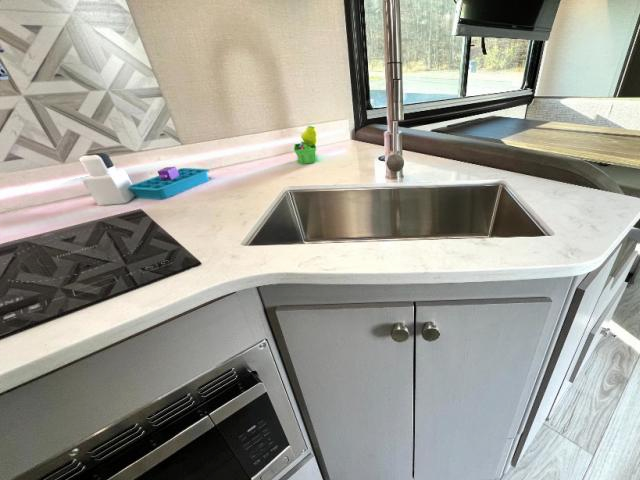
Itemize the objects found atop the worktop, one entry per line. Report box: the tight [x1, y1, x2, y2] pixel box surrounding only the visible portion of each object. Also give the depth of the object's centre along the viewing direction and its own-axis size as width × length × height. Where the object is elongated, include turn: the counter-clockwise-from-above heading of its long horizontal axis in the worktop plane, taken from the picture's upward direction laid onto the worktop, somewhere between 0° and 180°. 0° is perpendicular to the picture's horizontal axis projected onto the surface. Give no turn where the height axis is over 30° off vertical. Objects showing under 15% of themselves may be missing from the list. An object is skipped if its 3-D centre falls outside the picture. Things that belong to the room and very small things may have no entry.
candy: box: [157, 166, 179, 180], centre depth 93 cm, size 3×7×2 cm, turn 1°
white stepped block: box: [78, 152, 137, 207], centre depth 84 cm, size 7×7×12 cm
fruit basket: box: [293, 125, 318, 165], centre depth 114 cm, size 11×9×11 cm
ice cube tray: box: [128, 167, 210, 200], centre depth 94 cm, size 12×20×3 cm, turn 165°
